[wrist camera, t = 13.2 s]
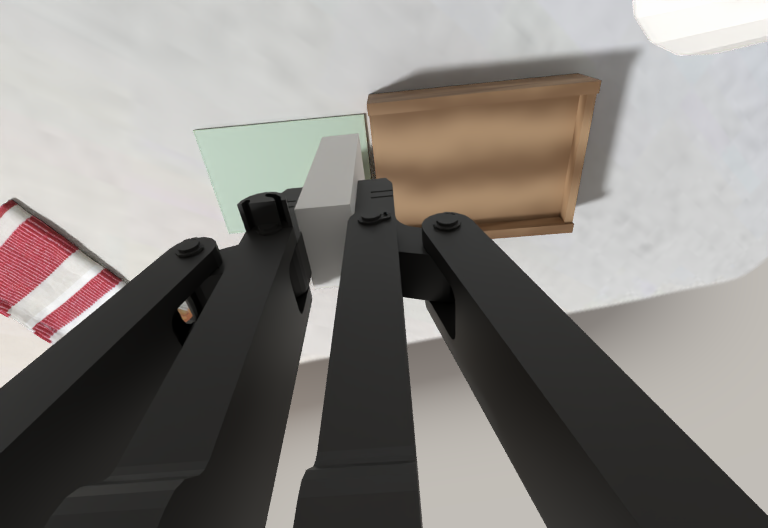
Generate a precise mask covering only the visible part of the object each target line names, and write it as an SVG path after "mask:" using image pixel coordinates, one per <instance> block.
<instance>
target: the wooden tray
mask: <svg viewBox="0 0 768 528" xmlns="http://www.w3.org/2000/svg"><path fill="white" fill-rule="evenodd" d="M600 86H601V80H598V79H595V78H591V77H588V76H585V75H582V74H578V73H576V74H566V75H556V76H546V77H536V78H526V79H516V80H507V81H497V82H487V83H477V84H467V85H457V86H447V87H437V88H428V89H418V90H408V91H398V92H388V93H378V94H369V96H368V101H367V110H368V116H369V117H370V126H371V136H372V145H373V154H374V163H375V172H376V179H378V178H387V179H388V180H389V181H391V182H392V185H393V196H394V207H395V216H396V219H397V220H398V221H399V222H400V223H402V224H404V225H407V226H412V227H420V228H422V223H423V221H424V220H425V219H426V218H428V217H429V216H431V215H434V214H437V213H443V212H456V213H459V214H463V215H466V216H467V217H469V218H470V219H472V220H473V221H474V222H475V223H476V224H477V225H478V226H479V227H480V228H481V229H482V230H483V231H484V232H485V233H486V234H487V235H488V236H489V237H490V238H491V239H496V238H508V237H521V236H534V235H546V234H559V233H572V231H573V226H574V223H573V222H572V221H573V216H574V211H575V205H576V200H577V195H578V190H579V184H580V179H581V174H582V169H583V163H584V158H585V153H586V147H587V142H588V137H589V132H590V126H591V121H592V116H593V110H594V105H595V100H596V95H597V93H599V91H600Z"/></svg>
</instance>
